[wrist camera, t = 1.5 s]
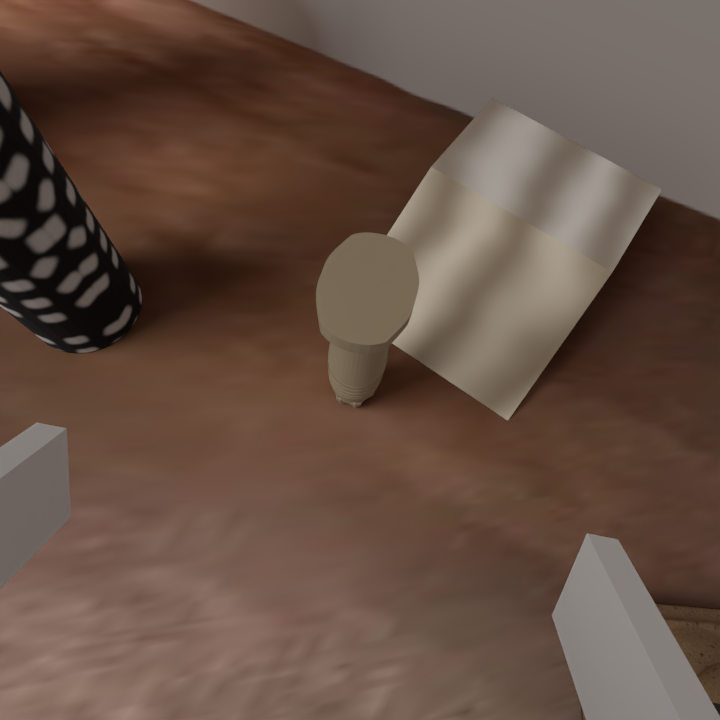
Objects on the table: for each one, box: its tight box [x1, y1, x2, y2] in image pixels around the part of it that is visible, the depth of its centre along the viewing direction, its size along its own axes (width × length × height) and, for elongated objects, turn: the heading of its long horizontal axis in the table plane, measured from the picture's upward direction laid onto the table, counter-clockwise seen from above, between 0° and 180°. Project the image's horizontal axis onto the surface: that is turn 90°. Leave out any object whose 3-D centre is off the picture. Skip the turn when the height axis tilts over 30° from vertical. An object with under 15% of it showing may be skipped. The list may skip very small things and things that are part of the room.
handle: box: [316, 232, 419, 408], centre depth 31 cm, size 5×6×15 cm
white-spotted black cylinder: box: [0, 71, 142, 353], centre depth 30 cm, size 8×8×20 cm
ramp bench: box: [387, 98, 661, 421], centre depth 41 cm, size 16×22×8 cm
